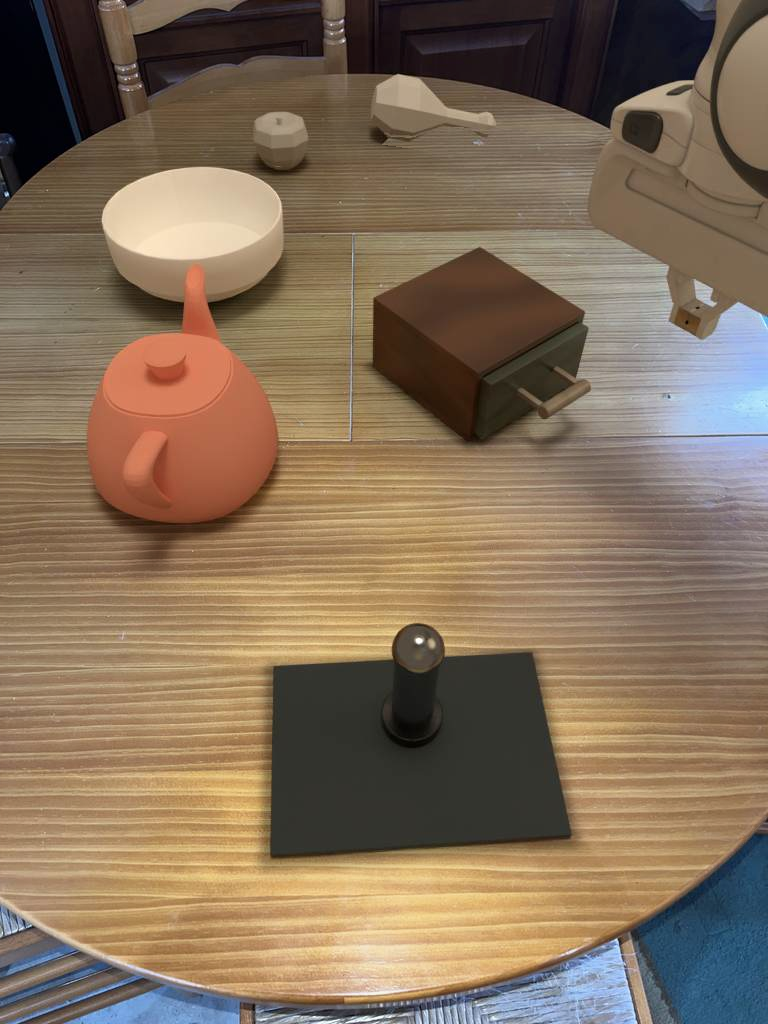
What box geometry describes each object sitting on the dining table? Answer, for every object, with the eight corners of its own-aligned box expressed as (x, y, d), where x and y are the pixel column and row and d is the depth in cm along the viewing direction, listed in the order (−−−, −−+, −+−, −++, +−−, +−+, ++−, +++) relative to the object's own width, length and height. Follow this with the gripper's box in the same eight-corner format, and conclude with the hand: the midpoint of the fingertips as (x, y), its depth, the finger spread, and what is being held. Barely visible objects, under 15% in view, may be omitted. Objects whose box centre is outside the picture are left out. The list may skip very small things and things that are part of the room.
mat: (531, 655, 64) (532, 651, 63) (570, 837, 55) (572, 834, 54) (274, 669, 63) (273, 665, 62) (270, 858, 54) (270, 855, 53)
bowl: (140, 345, 88) (123, 277, 81) (103, 251, 99) (85, 185, 93) (311, 303, 93) (308, 236, 87) (257, 219, 105) (250, 154, 98)
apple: (317, 155, 116) (315, 108, 111) (301, 181, 111) (298, 133, 106) (264, 148, 117) (259, 101, 112) (246, 174, 112) (240, 126, 107)
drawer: (607, 403, 82) (623, 348, 77) (514, 464, 76) (525, 409, 71) (482, 319, 90) (490, 265, 85) (391, 368, 85) (392, 313, 79)
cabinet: (568, 380, 85) (585, 311, 79) (468, 442, 79) (477, 373, 72) (471, 314, 92) (479, 246, 86) (372, 366, 86) (373, 297, 80)
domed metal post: (454, 723, 59) (469, 639, 51) (408, 760, 57) (416, 680, 49) (413, 681, 61) (422, 594, 53) (368, 716, 60) (369, 631, 51)
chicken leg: (494, 157, 118) (507, 94, 115) (373, 135, 115) (383, 68, 111) (479, 155, 126) (491, 95, 122) (365, 133, 122) (374, 71, 118)
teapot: (139, 368, 85) (108, 253, 75) (298, 377, 85) (289, 263, 75) (62, 557, 69) (9, 445, 59) (258, 570, 69) (240, 459, 58)
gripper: (948, 188, 46) (843, 380, 56) (653, 76, 56) (611, 255, 66) (891, 226, 43) (792, 420, 53) (593, 101, 53) (559, 284, 64)
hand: (690, 328), depth 60 cm, fingers closed
